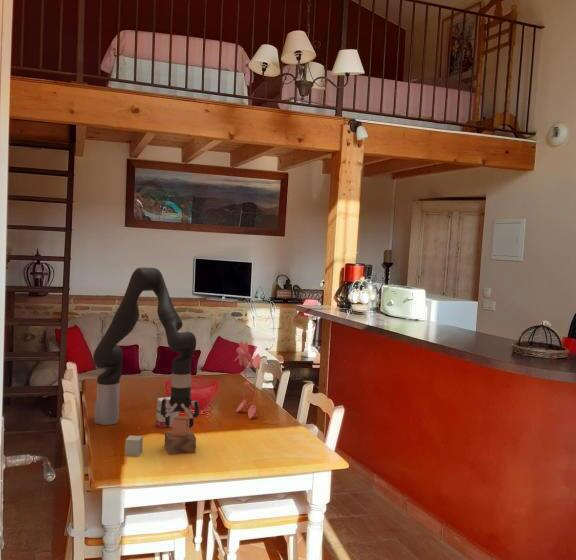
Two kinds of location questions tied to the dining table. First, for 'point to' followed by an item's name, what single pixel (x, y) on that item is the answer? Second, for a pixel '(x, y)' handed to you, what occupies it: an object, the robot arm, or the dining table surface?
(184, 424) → the terracotta block
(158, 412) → the ink box
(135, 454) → the sage block
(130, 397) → the dining table surface
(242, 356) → the pink artificial flower
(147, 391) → the dining table surface
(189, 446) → the walnut block
